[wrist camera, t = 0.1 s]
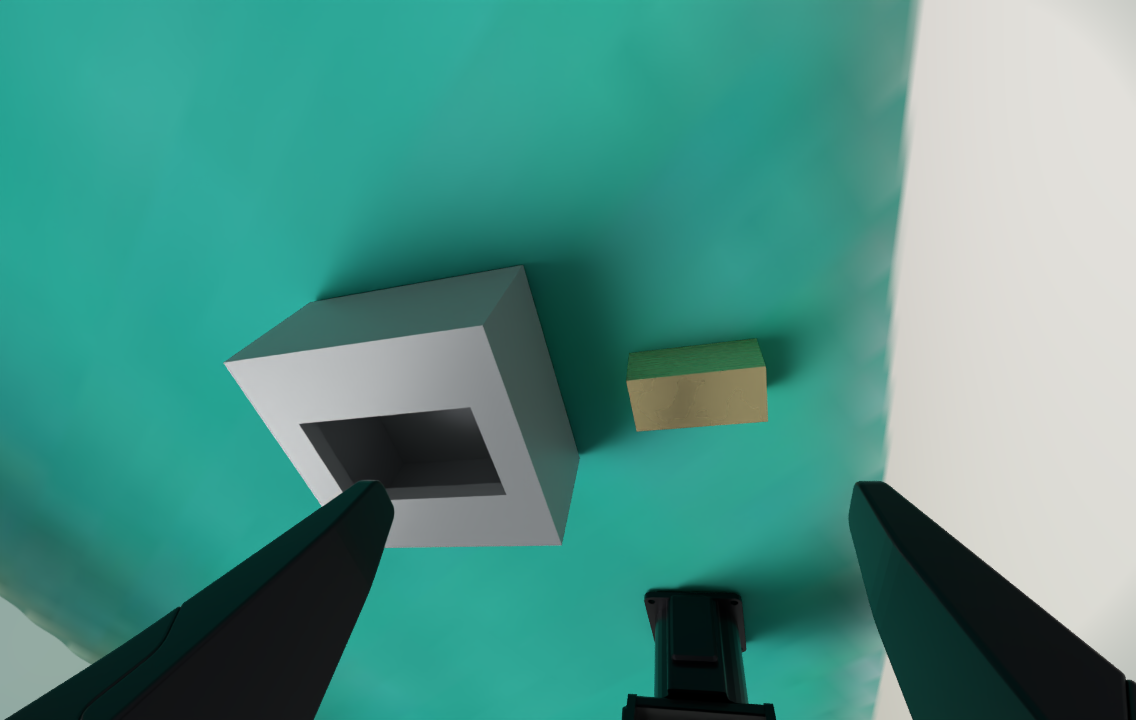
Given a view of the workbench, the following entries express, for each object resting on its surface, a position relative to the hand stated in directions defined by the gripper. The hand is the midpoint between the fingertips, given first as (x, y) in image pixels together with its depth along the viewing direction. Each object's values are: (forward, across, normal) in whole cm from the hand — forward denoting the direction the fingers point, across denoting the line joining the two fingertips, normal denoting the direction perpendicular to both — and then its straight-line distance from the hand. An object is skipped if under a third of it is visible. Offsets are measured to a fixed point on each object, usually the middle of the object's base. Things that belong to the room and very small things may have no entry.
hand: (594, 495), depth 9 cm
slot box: (+14, +11, +7) cm, 19 cm away
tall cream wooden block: (+14, -2, +7) cm, 16 cm away
